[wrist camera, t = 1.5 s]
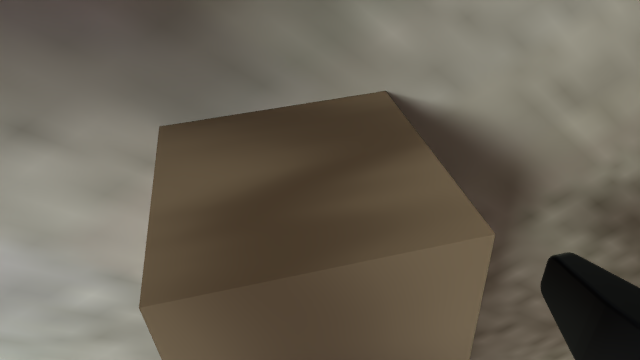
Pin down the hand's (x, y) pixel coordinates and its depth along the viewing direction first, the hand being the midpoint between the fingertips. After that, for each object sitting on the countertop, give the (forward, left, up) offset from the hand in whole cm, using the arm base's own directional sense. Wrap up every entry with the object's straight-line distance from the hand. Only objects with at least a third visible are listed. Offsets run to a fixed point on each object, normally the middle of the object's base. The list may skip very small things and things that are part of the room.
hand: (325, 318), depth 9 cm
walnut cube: (0, 0, -4) cm, 4 cm away
